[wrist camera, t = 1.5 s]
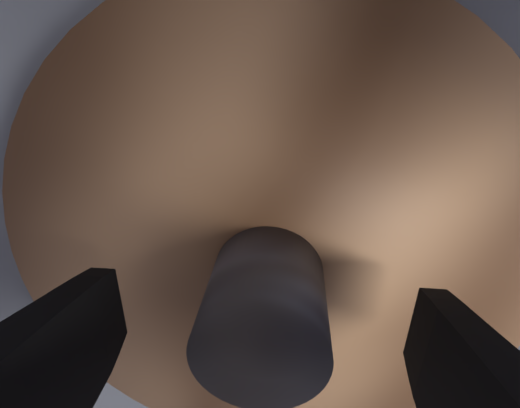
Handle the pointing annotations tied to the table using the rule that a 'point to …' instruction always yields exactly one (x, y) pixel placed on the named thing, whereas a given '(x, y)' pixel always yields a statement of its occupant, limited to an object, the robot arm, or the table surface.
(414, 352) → the robot arm
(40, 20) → the grey square pad
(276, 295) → the walnut lid
